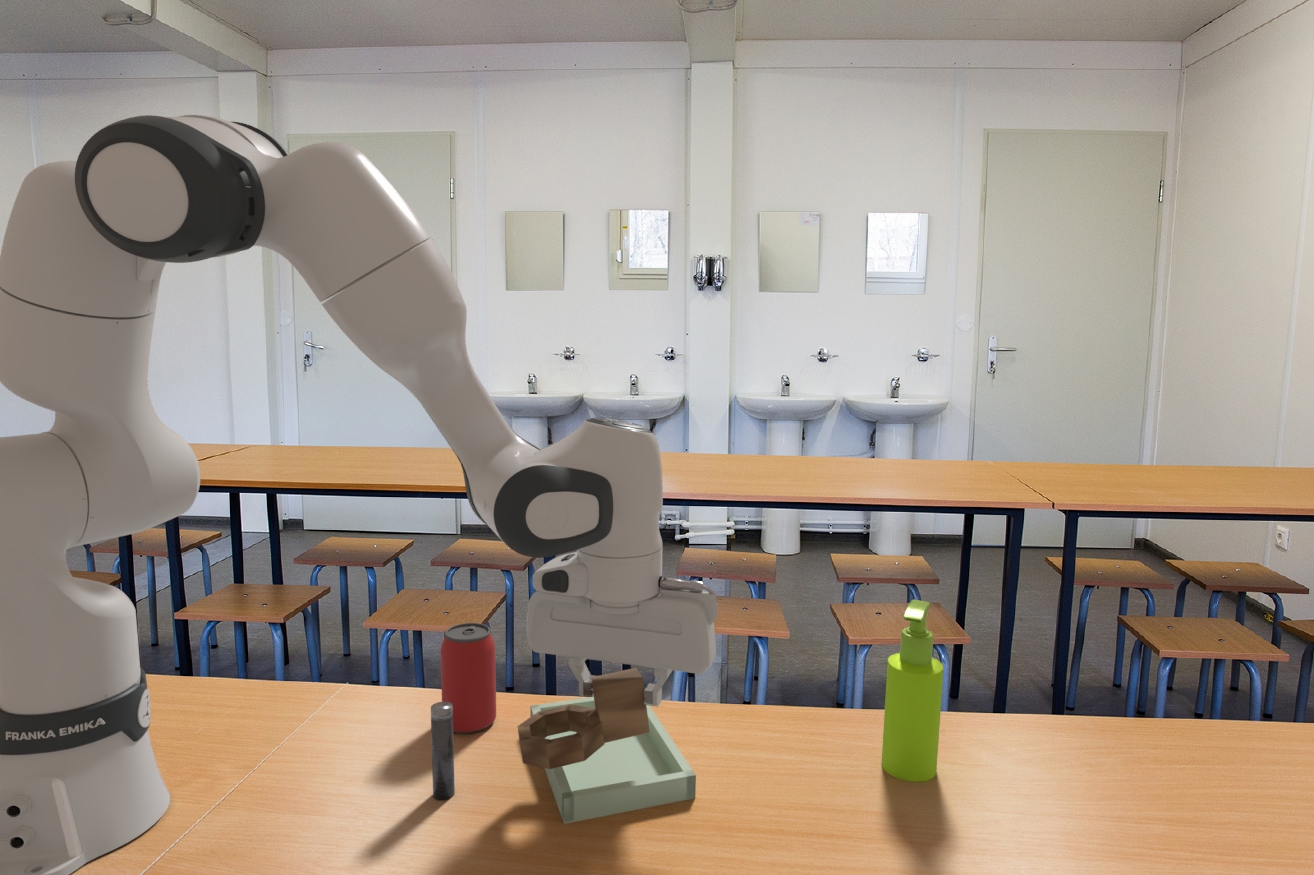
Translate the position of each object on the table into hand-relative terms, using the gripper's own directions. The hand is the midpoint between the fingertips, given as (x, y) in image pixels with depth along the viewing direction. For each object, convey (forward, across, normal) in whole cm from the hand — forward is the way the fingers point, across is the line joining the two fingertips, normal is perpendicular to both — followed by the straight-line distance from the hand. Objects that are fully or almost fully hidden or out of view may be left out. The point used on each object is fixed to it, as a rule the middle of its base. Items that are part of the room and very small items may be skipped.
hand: (619, 698), depth 83 cm
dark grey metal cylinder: (+10, +17, +7) cm, 21 cm away
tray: (+10, +3, -4) cm, 11 cm away
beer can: (+10, +22, -8) cm, 26 cm away
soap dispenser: (+11, -30, -12) cm, 34 cm away
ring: (+4, +5, +4) cm, 8 cm away
